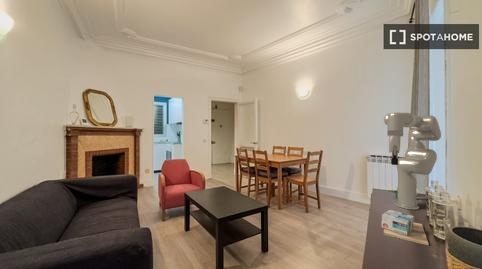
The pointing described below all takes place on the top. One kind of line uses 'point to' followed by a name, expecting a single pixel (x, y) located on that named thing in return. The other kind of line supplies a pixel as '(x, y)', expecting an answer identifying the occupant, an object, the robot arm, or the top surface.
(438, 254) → the top surface
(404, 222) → the light bulb box
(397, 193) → the figurine
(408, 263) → the top surface
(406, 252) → the top surface
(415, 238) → the oak board
